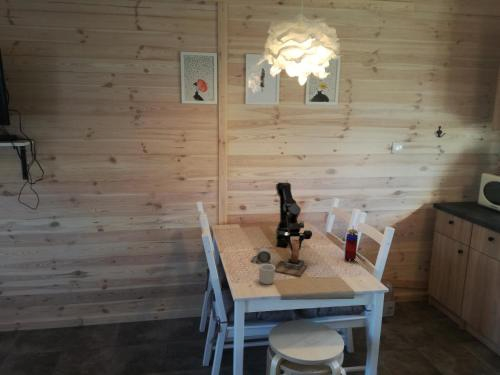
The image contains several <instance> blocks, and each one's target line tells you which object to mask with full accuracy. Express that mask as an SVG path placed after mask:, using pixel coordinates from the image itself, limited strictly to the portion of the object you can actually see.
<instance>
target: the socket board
mask: <svg viewBox="0 0 500 375" xmlns="http://www.w3.org/2000/svg"><path fill="white" fill-rule="evenodd" d="M274 266H275V273H277V274H283V275H287V276H292V277H298V278H301V277H302V275H303V274H304V273H305V271H306V269H308V265H307V264H305V260H303V259H298V262H292V261H291V257H288V259H286V261H285V260H280V261H279V262H278V263H276V265H274Z"/></svg>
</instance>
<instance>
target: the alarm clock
mask: <svg viewBox="0 0 500 375" xmlns="http://www.w3.org/2000/svg"><path fill="white" fill-rule="evenodd" d="M354 227H355V226H354V225H352V228H351V229H348V230H347V233H346V236H345V237H342V241H343V242H345V243H341V245H345V246H344V247H342V249H343V250H344V259H348V262H349V263H351V260H356V258H357V249H358V239H359V235H358V234H359V231H357V230H356V229H354Z"/></svg>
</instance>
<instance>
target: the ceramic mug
mask: <svg viewBox="0 0 500 375" xmlns="http://www.w3.org/2000/svg"><path fill="white" fill-rule="evenodd" d="M250 259H251V262H252V263H253V262H254V263H255V262H258V263H259V264H260V265H261V264H270V261H271V259H272V256H271V251H270V249H269V248H268V247H265V246H264V247H260V248H259V249H258V250H257V253H256V254H255V255H253V256H252V257H251V258H250Z"/></svg>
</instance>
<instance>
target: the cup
mask: <svg viewBox="0 0 500 375" xmlns="http://www.w3.org/2000/svg"><path fill="white" fill-rule="evenodd" d="M275 266H276V265H273V264H272V263H267V264H261V263H260V264H259V266H258V275H259V281H260V283H261V284H263V285H271V284H273V282H274V278H275V273H276V272H275Z"/></svg>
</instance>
